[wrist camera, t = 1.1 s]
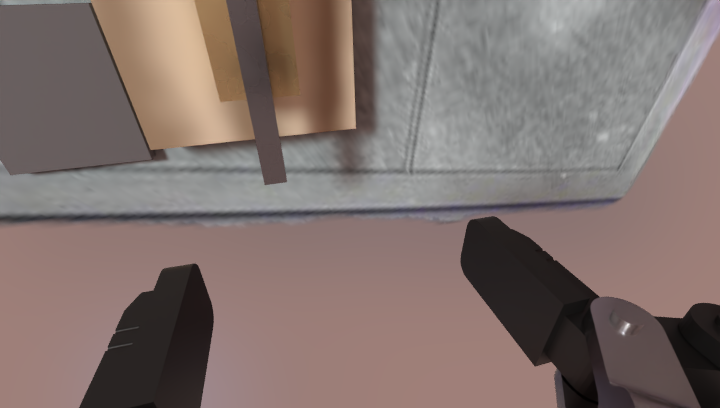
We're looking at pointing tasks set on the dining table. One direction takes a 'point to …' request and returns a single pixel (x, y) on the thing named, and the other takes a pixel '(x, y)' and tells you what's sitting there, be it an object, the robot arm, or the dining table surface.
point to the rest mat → (62, 92)
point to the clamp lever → (257, 87)
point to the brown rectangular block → (225, 55)
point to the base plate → (196, 81)
